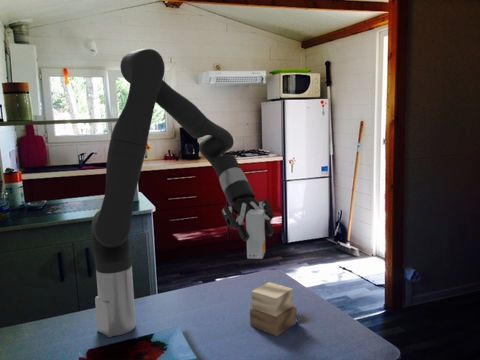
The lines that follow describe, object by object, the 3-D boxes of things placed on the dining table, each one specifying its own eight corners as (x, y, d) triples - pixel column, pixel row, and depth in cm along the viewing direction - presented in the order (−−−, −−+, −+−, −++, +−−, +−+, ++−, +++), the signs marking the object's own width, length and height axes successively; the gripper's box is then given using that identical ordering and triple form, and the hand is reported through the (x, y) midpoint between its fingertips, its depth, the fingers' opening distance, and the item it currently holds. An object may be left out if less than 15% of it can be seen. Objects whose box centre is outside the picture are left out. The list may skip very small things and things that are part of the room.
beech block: (276, 317, 107) (275, 298, 106) (251, 308, 112) (251, 291, 111) (293, 306, 113) (292, 288, 112) (269, 298, 118) (269, 282, 117)
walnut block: (276, 336, 107) (276, 318, 106) (250, 326, 113) (249, 308, 112) (296, 323, 113) (296, 306, 113) (270, 314, 119) (270, 297, 119)
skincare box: (263, 259, 108) (261, 214, 106) (246, 258, 108) (245, 214, 107) (265, 251, 113) (264, 209, 112) (250, 251, 114) (249, 209, 112)
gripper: (217, 182, 111) (240, 234, 103) (262, 176, 118) (287, 224, 109) (209, 198, 116) (230, 249, 108) (253, 192, 123) (276, 239, 115)
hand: (259, 236), depth 109 cm, fingers closed on skincare box, 7 cm apart
